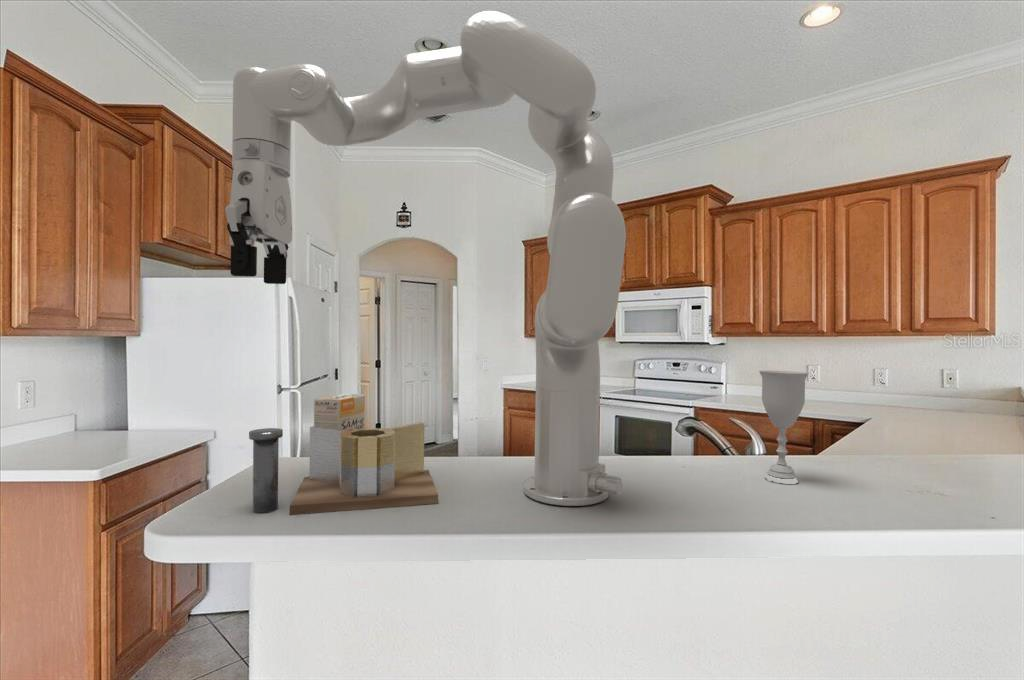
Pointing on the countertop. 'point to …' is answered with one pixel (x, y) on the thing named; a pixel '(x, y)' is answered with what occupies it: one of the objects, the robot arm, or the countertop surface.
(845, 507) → the countertop surface
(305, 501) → the walnut board
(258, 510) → the hinge pin
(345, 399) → the supplement box
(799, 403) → the chalice
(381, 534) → the countertop surface
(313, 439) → the hinge
